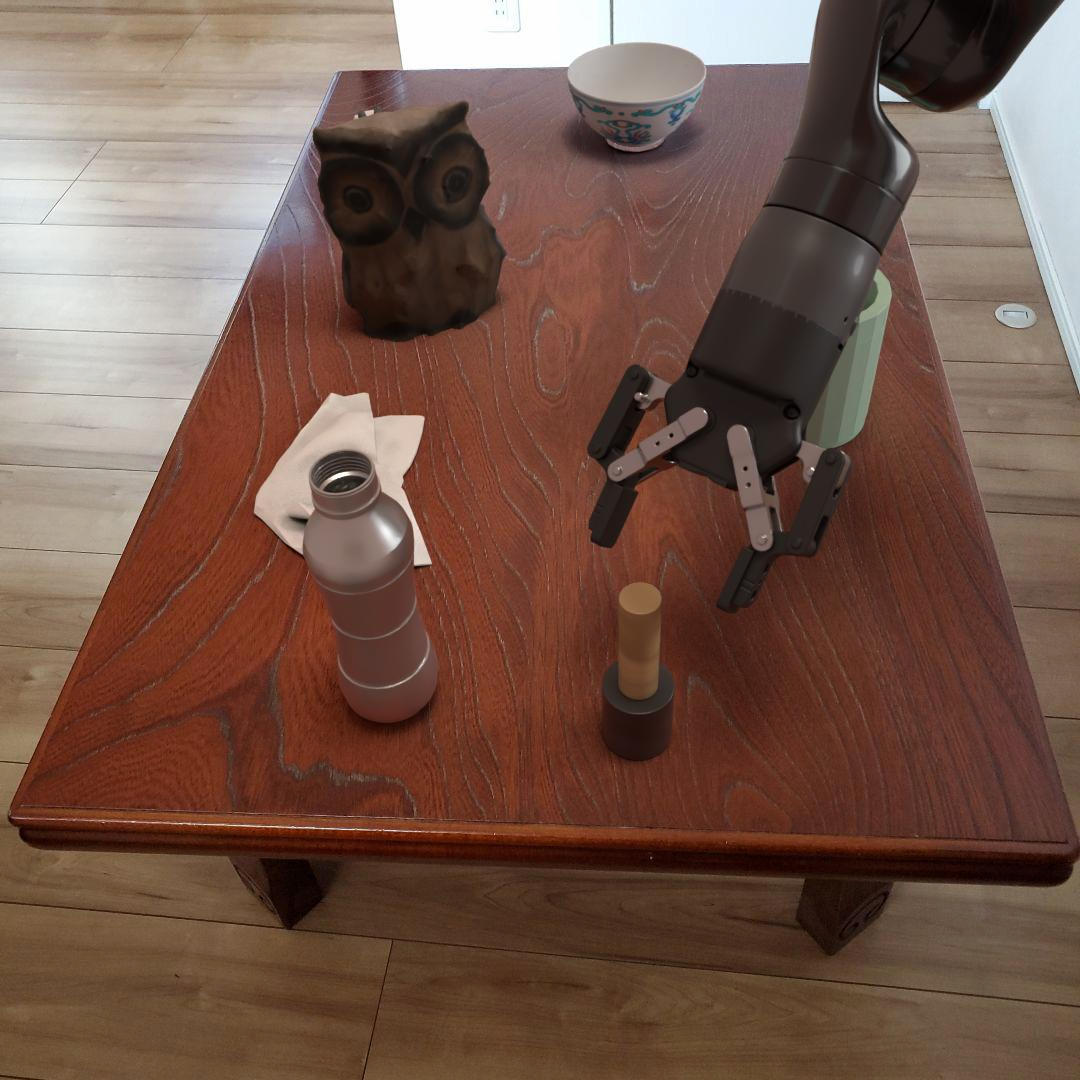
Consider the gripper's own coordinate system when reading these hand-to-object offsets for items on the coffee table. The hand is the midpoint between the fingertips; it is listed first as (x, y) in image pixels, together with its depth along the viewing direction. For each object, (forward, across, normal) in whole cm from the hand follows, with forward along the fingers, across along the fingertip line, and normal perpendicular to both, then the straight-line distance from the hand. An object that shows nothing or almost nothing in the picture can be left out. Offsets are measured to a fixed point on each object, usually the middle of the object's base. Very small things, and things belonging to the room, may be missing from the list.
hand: (661, 577), depth 64 cm
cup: (-14, -7, +31) cm, 35 cm away
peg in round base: (+10, 0, +7) cm, 13 cm away
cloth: (+8, -31, +10) cm, 33 cm away
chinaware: (-37, -45, +52) cm, 78 cm away
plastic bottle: (+16, -14, +2) cm, 21 cm away
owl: (-9, -44, +27) cm, 52 cm away
